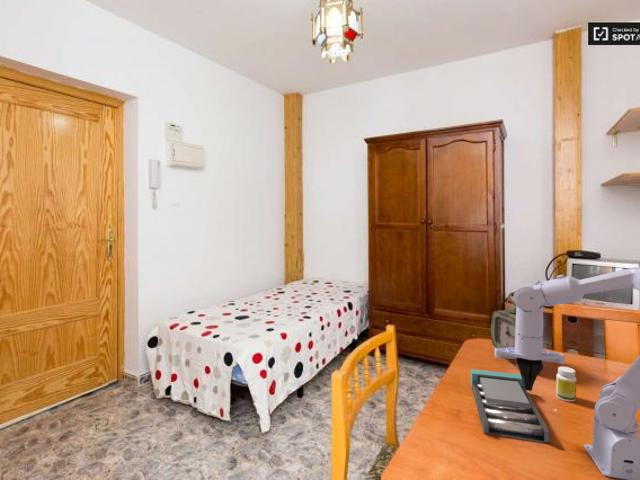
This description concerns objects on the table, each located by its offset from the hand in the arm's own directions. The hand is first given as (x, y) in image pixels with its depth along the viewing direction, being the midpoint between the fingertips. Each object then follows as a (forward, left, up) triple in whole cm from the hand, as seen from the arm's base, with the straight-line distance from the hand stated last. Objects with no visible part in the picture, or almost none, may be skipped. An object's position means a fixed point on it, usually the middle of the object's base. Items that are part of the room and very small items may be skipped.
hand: (527, 388), depth 86 cm
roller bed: (+6, +3, -10) cm, 13 cm away
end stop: (+19, +3, -10) cm, 22 cm away
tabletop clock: (+42, -7, -11) cm, 44 cm away
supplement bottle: (+19, -15, -11) cm, 26 cm away
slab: (+10, +3, -7) cm, 13 cm away
